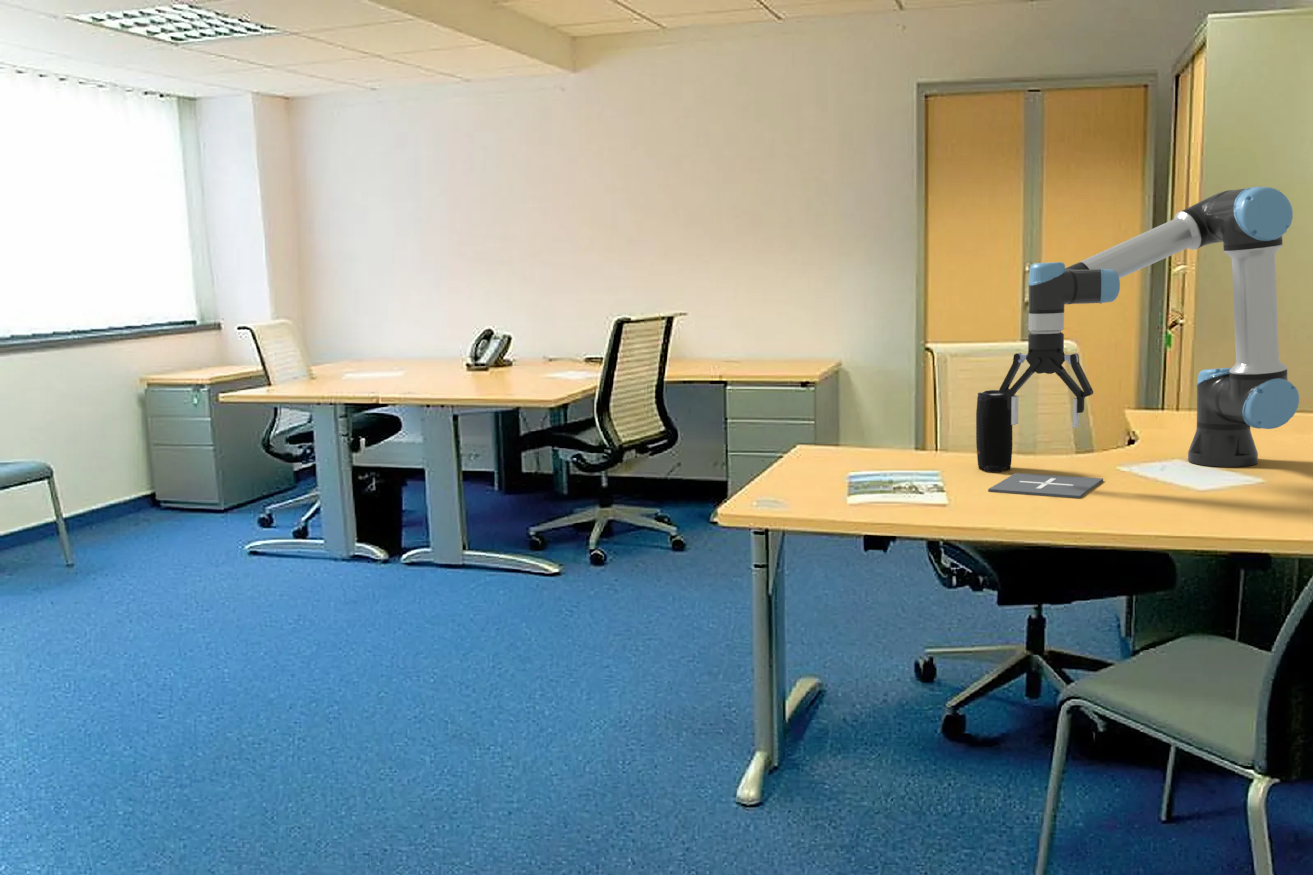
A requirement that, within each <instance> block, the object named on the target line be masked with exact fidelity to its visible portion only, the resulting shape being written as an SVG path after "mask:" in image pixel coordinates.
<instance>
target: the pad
mask: <svg viewBox="0 0 1313 875" xmlns="http://www.w3.org/2000/svg"><path fill="white" fill-rule="evenodd" d="M1103 481H1104V478H1103V477H1090V476H1089V477H1088V476H1086V477H1085V476H1071V475H1056V474H1040V473H1039V474H1038V473H1027V472H1026V473H1025V472H1024V473H1023V472H1014V474H1011V475H1009V476H1008V477H1007V478H1005V479H1003V480H1001V481H1000V482H998V483H996V484H994V485H993V486H991V487H989V488H987V489H988V490H987V492H991V493H1000V494H1002V493H1003V494H1016V495H1029V496H1040V497H1041V496H1043V497H1055V498H1068V499H1081V498H1083V497H1084V496H1085V495H1086V494H1088V493H1089V492H1091V491H1092V490H1093V489H1094V488H1095V487H1097V486H1098V485H1100V484H1101V483H1102V482H1103Z"/></svg>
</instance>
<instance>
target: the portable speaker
mask: <svg viewBox="0 0 1313 875" xmlns="http://www.w3.org/2000/svg"><path fill="white" fill-rule="evenodd" d="M976 401H977V402H976V411H975V412H976V413H975V417H976V418H975V419H976V420H975V423H976V424H975V425H976V426H975V430H976V432H975V433H976V434H975V436H976V437H975V441H976V443H975V444H976V445H975V446H976V456H977V457H976V458H977V465H978V470H982V469H983V470H984V471H985V472H986V473H987V472H988V473H1001V472H1002V471H1003V470H1005V469H1007V470H1011V468H1012V459H1013V456H1012V455H1013V425H1011V410H1008V408H1007V395H1005V394H1003V393H1000V392H999V389H997V390H996V389H994V390H993V389H992V390H991V389H989V390H984V391H983V392H977V398H976Z"/></svg>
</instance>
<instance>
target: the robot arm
mask: <svg viewBox="0 0 1313 875" xmlns="http://www.w3.org/2000/svg"><path fill="white" fill-rule="evenodd" d="M1293 218H1294V212H1293V206H1292V204H1291V202H1290V200H1289V198H1288V197H1287V195H1285V194H1284V193H1283V192H1282V191H1280V190H1279V189H1276V188H1273V187H1268V186H1252V187H1247V188H1238V189H1229V190H1225V191H1221V192H1218V193H1215V194H1213V195H1211V196H1208V197H1207V198H1205V199H1203V200H1201V201H1199V202H1196V203H1195V204H1193V205H1191V206H1189V207H1187V208H1185V209H1183V210H1181V211H1178V212H1177V213H1176V214H1175V215H1174V217H1173V219H1170V220H1169V221H1167V222H1164V223H1163V224H1160V225H1158V226H1156V227H1154V228H1151V229H1149V230H1147V231H1145V232H1142V233H1140V234H1139V235H1138V234H1137V235H1136V236H1134V237H1131V238H1129V239H1127V240H1125V241H1123V242H1121V243H1118V244H1116V245H1114V246H1111V247H1109V248H1107V249H1105V250H1102V251H1101V252H1098V253H1097V254H1094V255H1092V256H1089V257H1087V258H1085V259H1083V260H1081V261H1078V262H1077V263H1074V264H1071V265H1070V266H1067V267H1066V264H1065V263H1064V262H1063V261H1061V262H1059V261H1057V262H1039V263H1038V262H1035V263H1033V264H1031V265H1030V267H1029V274H1028V284H1027V285H1028V327H1027V328H1028V331H1030V333H1029V334H1028V335H1027V336H1028V346H1027V349H1028V350H1027V354H1025V353H1024V354H1023V353H1021V352H1017V353H1014V354H1013V358H1012V364H1011V366H1010V368H1009V370H1008V372H1007V374H1005V375H1006V376H1005V378H1004V380H1002V384H1001V386H1000V387H999V389H998V390H999V392H1000V393H1003V394H1005V395H1007V408H1008V410H1011V425H1012V426H1016V425H1018V424H1019V405H1020V404H1019V395H1016V393H1017V392H1018V391H1019V390H1020V389H1021V388H1022V387H1023V386H1024V384H1025V383H1026V382H1028V380H1029V379H1030V378H1031V376H1033V375H1034V374H1035V373H1036V374H1039V375H1040V374H1041V375H1042V374H1047V375H1052V374H1054V373H1055V375H1057V376H1058V377H1059V378H1060V380H1061V381H1062V382H1063V384H1065V386H1067V388H1068V389H1069V390H1070V391H1071V392H1072V393H1073V395H1075V397H1074V398H1073V399H1072V424H1071V425H1072V426H1071V427H1072V428H1073V429H1077V428H1079V427H1080V414H1082V413H1083V412H1084V411H1085V400H1086V398H1087V397H1089V396H1092V395H1093V394H1094V389H1093V388H1092V385H1091V384H1090V381H1089V379H1088V378H1087V376H1086V374H1085V372H1084V370H1083V367H1082V366H1081V364H1080V356H1079V354H1078V353H1077V352H1075V353H1073V354H1065V352H1064V347H1065V346H1064V345H1065V343H1064V342H1065V341H1064V340H1065V335H1064V333H1063V332H1062V331H1063V330H1064V329H1065V305H1075V304H1076V305H1087V304H1100V305H1102V304H1103V303H1104V304H1105V303H1112V302H1114V301H1115V300H1116V299H1117V297H1118V296H1119V293H1120V290H1121V288H1120V287H1121V280H1120V279H1123V278H1124V277H1126V276H1128V275H1131V274H1133V273H1135V272H1138V271H1139V270H1142V269H1144V268H1147V267H1149V266H1151V265H1153V264H1155V263H1157V262H1160V261H1162V260H1164V259H1166V258H1168V257H1171V256H1173V255H1176V254H1177V253H1180V252H1182V251H1184V250H1187V249H1188V250H1191V251H1194V250H1198V249H1199V248H1202V247H1205V246H1207V245H1211V244H1217V243H1223V253H1225V255H1227V257H1229V258H1230V259H1231V271H1232V276H1231V277H1232V294H1233V295H1232V297H1233V319H1234V320H1233V321H1234V342H1235V364H1234V365H1233V366H1231V367H1221V368H1208V369H1203V370H1200V372H1199V373H1198V375H1197V383H1196V387H1197V388H1196V389H1197V392H1196V394H1197V395H1196V430H1195V433H1194V436H1193V439H1192V441H1191V444H1190V447H1189V449H1188V452H1187V461H1188V462H1189V463H1192V464H1195V465H1200V466H1206V467H1207V466H1208V467H1218V468H1219V467H1221V468H1223V467H1224V468H1225V467H1226V468H1236V467H1248V466H1254V465H1256V464H1258V462H1259V459H1258V458H1259V452H1258V449H1257V447H1256V444H1255V441H1254V437H1253V435H1252V432H1251V430H1252V429H1251V428H1254V429H1258V430H1260V429H1261V430H1263V429H1264V430H1271V429H1277V428H1279V427H1282V426H1284V425H1286V424H1287V423H1288V422H1289V420H1291V419H1292V418H1293V417H1294V416H1295V415H1296V412H1297V411H1298V408H1299V406H1300V405H1299V404H1300V394H1299V391H1298V389H1297V387H1296V386H1295V385H1293V383H1292V382H1291V381H1289V379H1288V367H1287V365H1285V364H1284V363H1283V362H1281V361H1280V352H1279V351H1280V349H1279V326H1278V297H1277V272H1276V268H1277V267H1276V254H1277V252H1278V251H1279V250H1280V249H1281V248H1282V247H1283V236H1284V234H1286V233H1287V232H1288V231H1287V230H1288V229H1289V228H1290V227H1291V225H1292V222H1293ZM1025 360H1026V362H1027V364H1028V365H1029V366H1028V367H1027V369H1025V371H1024V372H1023V374H1022V375H1021V376H1020V377H1019V378H1018V380H1016V382H1015V383H1014V384H1013V385H1012V386H1011V384H1012V383H1013V380H1014V379H1015V377H1016V375H1017V374H1018V373H1017V372H1018V371H1019V369H1020V367H1021V365H1022V364H1023V363H1024V362H1025ZM1066 361H1067V363H1068V364H1069V365H1070V366H1071V369H1072V371H1073V373H1074V374H1075V376H1076V378H1077V381H1078V382H1079V385H1080V386H1081V387H1080V386H1079V385H1078V384H1077V383H1076V381H1075V380H1074V379H1073V378H1072V376H1071V375H1070V374H1069V373H1068V372H1067V369H1065V367H1064V366H1063V364H1064V363H1065V362H1066ZM1010 386H1011V387H1010Z"/></svg>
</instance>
